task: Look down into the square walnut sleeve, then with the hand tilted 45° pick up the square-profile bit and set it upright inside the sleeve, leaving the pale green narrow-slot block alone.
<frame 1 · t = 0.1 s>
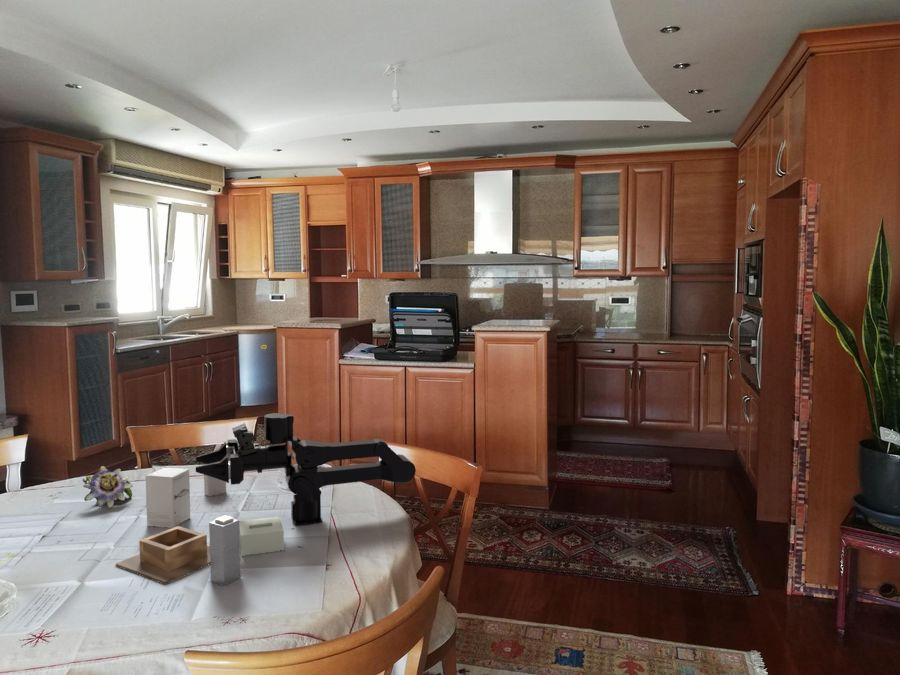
hand: (195, 464, 153), 17 cm above the table, tool horizontal, fingers open, 9 cm apart
square sleeve: (174, 560, 140), on the table
passion flower: (107, 504, 175), on the table
square bit: (225, 579, 132), on the table
narrow slot block: (261, 545, 148), on the table
power adapter: (215, 493, 184), on the table
supplement box: (169, 522, 162), on the table
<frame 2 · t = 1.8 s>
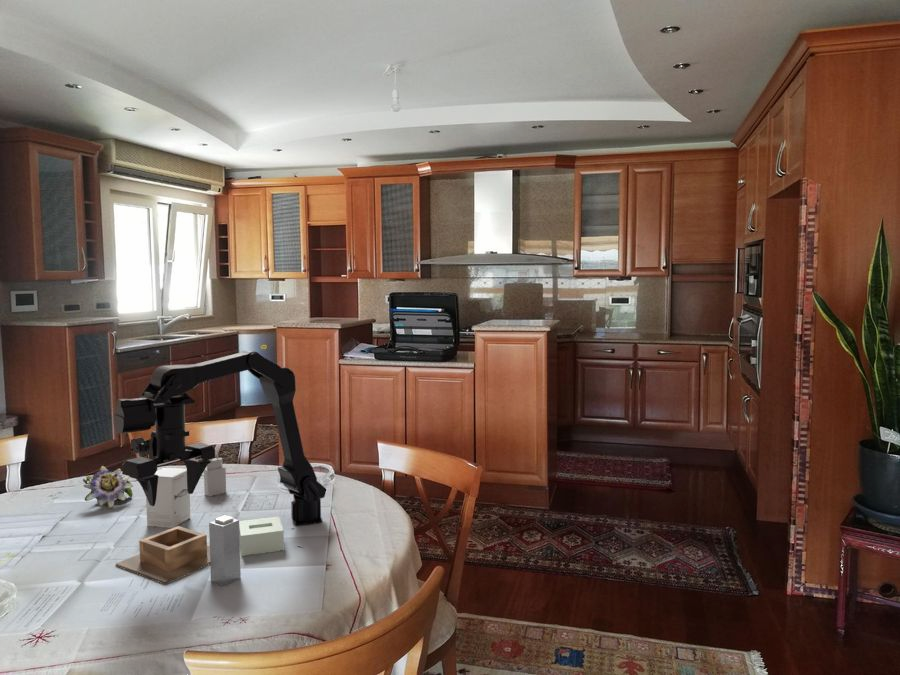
hand: (171, 499, 139), 13 cm above the table, tool pointing down, fingers open, 9 cm apart
nothing on the table moved.
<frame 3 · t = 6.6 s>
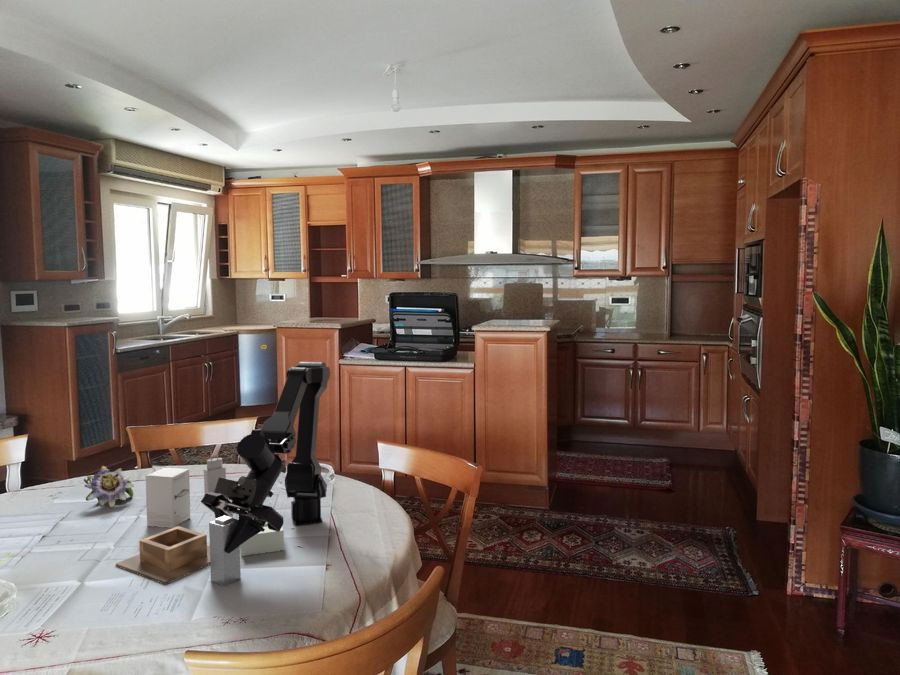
hand: (219, 550, 130), 7 cm above the table, tool tilted 45°, fingers closed on square bit, 4 cm apart
square bit: (225, 579, 132), on the table, touching gripper
everything else where it was.
when the fingers open (8 cm above the table, at t = 10.9 s): square bit drops 1 cm, resting on square sleeve.
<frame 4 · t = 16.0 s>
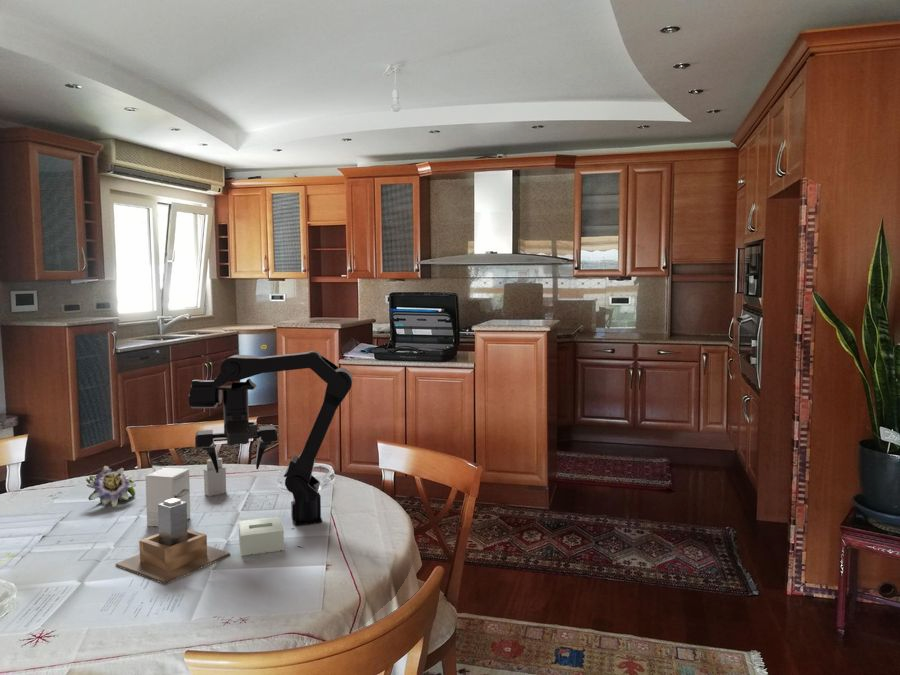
hand: (237, 470, 161), 13 cm above the table, tool pointing down, fingers open, 9 cm apart
square bit: (174, 558, 140), resting on square sleeve
everything else where it was.
at the end: square bit 0.0 cm off-centre on the square sleeve, point 0.5 cm above the square sleeve's base; square bit tilted 0°; the gripper is holding nothing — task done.
